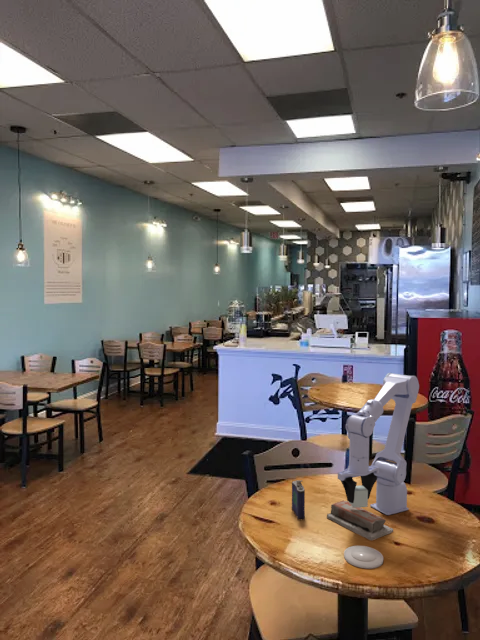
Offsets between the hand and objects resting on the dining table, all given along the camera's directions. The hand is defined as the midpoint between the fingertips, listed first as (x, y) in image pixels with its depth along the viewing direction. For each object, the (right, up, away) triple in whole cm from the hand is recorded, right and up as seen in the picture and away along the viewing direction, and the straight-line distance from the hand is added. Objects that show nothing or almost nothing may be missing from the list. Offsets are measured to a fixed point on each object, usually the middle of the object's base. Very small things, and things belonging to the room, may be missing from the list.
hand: (358, 499), depth 148 cm
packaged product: (0, -8, 0) cm, 8 cm away
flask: (-17, -7, +7) cm, 20 cm away
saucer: (-3, -8, -19) cm, 21 cm away
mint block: (0, -1, 0) cm, 1 cm away
